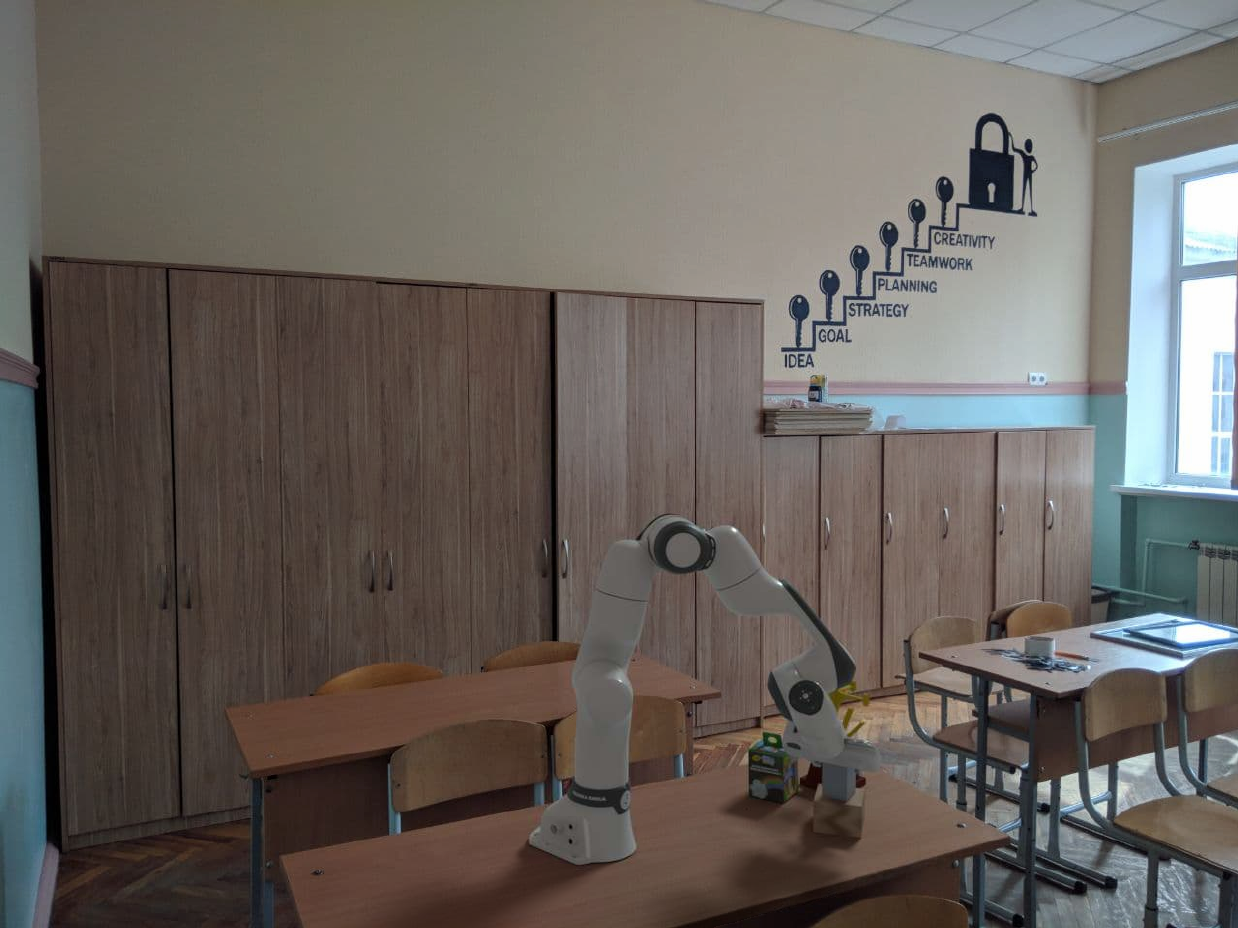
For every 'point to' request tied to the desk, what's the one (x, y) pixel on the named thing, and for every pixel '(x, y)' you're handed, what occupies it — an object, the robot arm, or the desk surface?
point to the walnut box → (839, 814)
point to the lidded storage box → (838, 781)
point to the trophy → (837, 697)
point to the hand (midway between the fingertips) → (839, 767)
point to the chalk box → (772, 770)
